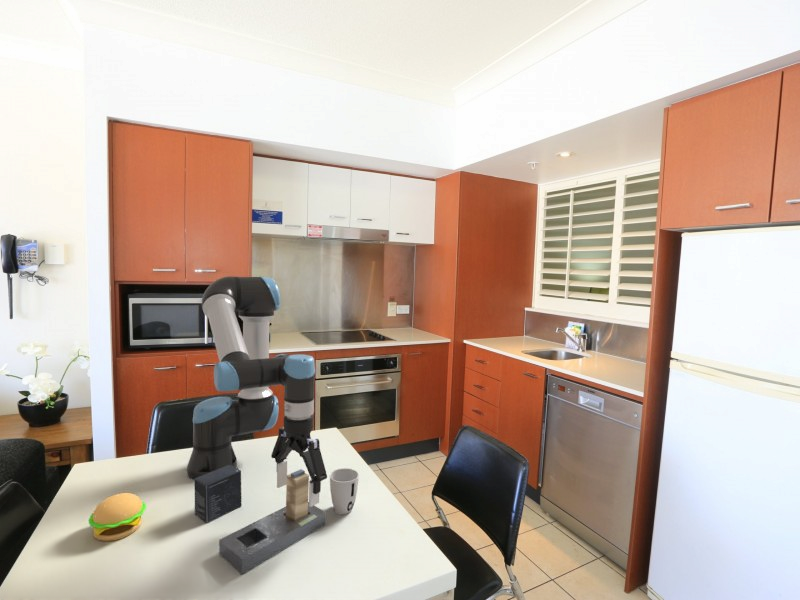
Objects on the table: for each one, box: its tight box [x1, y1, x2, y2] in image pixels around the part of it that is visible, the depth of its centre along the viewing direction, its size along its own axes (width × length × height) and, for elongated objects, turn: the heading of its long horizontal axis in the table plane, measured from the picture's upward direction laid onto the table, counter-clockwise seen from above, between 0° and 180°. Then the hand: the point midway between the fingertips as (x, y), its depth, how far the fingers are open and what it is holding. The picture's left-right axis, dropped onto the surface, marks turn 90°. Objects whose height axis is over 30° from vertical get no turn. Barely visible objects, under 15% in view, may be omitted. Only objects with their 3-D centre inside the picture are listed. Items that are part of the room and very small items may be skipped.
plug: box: [285, 468, 310, 522], centre depth 107 cm, size 4×4×15 cm
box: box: [193, 465, 242, 524], centre depth 113 cm, size 11×7×10 cm, turn 145°
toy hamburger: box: [88, 492, 147, 542], centre depth 104 cm, size 12×12×9 cm
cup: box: [329, 467, 360, 515], centre depth 116 cm, size 8×8×10 cm
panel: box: [218, 501, 327, 575], centre depth 102 cm, size 10×24×4 cm, turn 141°
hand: (297, 494), depth 107 cm, fingers open, 13 cm apart
